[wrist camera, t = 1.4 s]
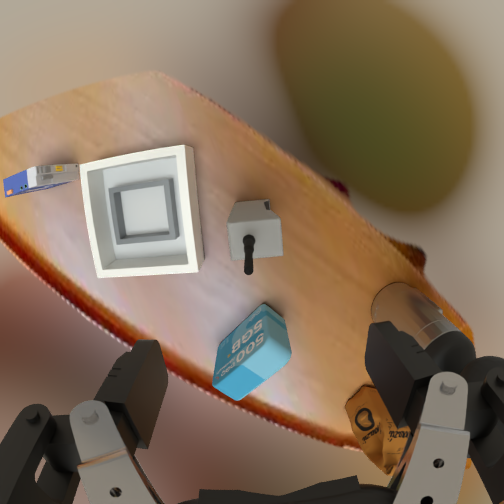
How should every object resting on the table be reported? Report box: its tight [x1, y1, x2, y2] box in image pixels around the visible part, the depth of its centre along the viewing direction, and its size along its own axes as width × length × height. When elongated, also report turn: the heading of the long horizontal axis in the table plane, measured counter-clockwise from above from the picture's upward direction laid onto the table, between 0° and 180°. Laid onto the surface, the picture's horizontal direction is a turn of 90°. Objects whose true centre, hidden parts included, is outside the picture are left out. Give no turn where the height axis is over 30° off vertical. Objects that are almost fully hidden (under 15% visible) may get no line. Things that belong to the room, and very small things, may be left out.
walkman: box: [3, 164, 79, 197], centre depth 35 cm, size 8×3×12 cm, turn 96°
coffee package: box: [345, 386, 410, 476], centre depth 44 cm, size 10×12×22 cm
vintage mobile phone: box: [227, 199, 283, 275], centre depth 31 cm, size 4×5×25 cm
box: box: [80, 145, 205, 278], centre depth 40 cm, size 16×17×6 cm
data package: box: [212, 304, 292, 400], centre depth 43 cm, size 12×4×12 cm, turn 138°
